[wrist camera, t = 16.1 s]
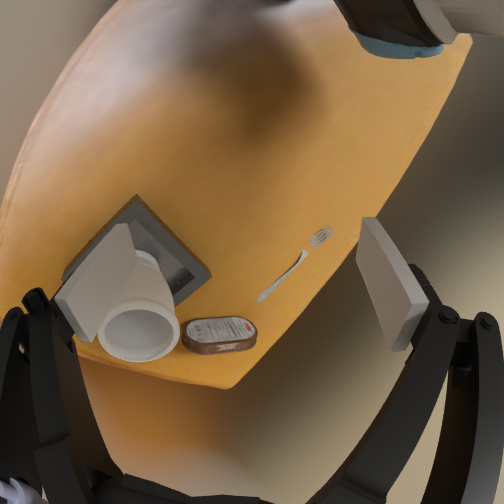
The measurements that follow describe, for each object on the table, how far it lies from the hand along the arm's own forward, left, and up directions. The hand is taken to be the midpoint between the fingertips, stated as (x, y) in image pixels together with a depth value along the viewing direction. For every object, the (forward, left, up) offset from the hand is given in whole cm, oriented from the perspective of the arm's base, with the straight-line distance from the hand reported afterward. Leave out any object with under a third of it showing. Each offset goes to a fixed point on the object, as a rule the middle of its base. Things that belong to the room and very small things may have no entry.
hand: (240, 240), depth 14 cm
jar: (+17, +9, -27) cm, 33 cm away
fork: (-4, +31, -28) cm, 42 cm away
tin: (+15, +29, -28) cm, 43 cm away
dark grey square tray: (+17, +9, -27) cm, 33 cm away
